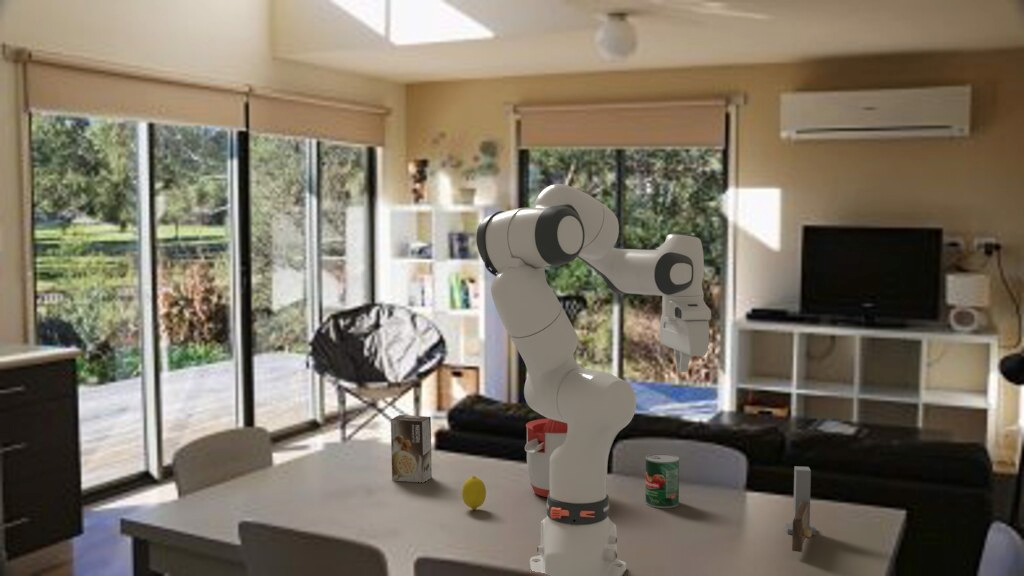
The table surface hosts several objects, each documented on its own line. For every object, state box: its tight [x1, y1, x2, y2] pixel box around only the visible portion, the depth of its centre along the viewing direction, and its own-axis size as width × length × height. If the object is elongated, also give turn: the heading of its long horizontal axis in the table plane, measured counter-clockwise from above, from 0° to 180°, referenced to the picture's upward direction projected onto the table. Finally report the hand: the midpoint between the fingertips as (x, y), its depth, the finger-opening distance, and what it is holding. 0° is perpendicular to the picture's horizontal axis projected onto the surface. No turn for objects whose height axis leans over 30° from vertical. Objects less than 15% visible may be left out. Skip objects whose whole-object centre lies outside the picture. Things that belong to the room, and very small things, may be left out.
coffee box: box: [390, 414, 433, 484], centre depth 249 cm, size 9×6×16 cm
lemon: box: [461, 475, 487, 511], centre depth 223 cm, size 6×6×8 cm
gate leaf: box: [791, 502, 812, 553], centre depth 198 cm, size 3×14×6 cm, turn 157°
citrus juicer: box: [524, 418, 568, 498], centre depth 236 cm, size 16×17×20 cm
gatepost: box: [784, 465, 818, 536], centre depth 208 cm, size 4×6×14 cm, turn 81°
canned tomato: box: [645, 453, 680, 509], centre depth 228 cm, size 8×8×11 cm
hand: (682, 370), depth 211 cm, fingers closed
